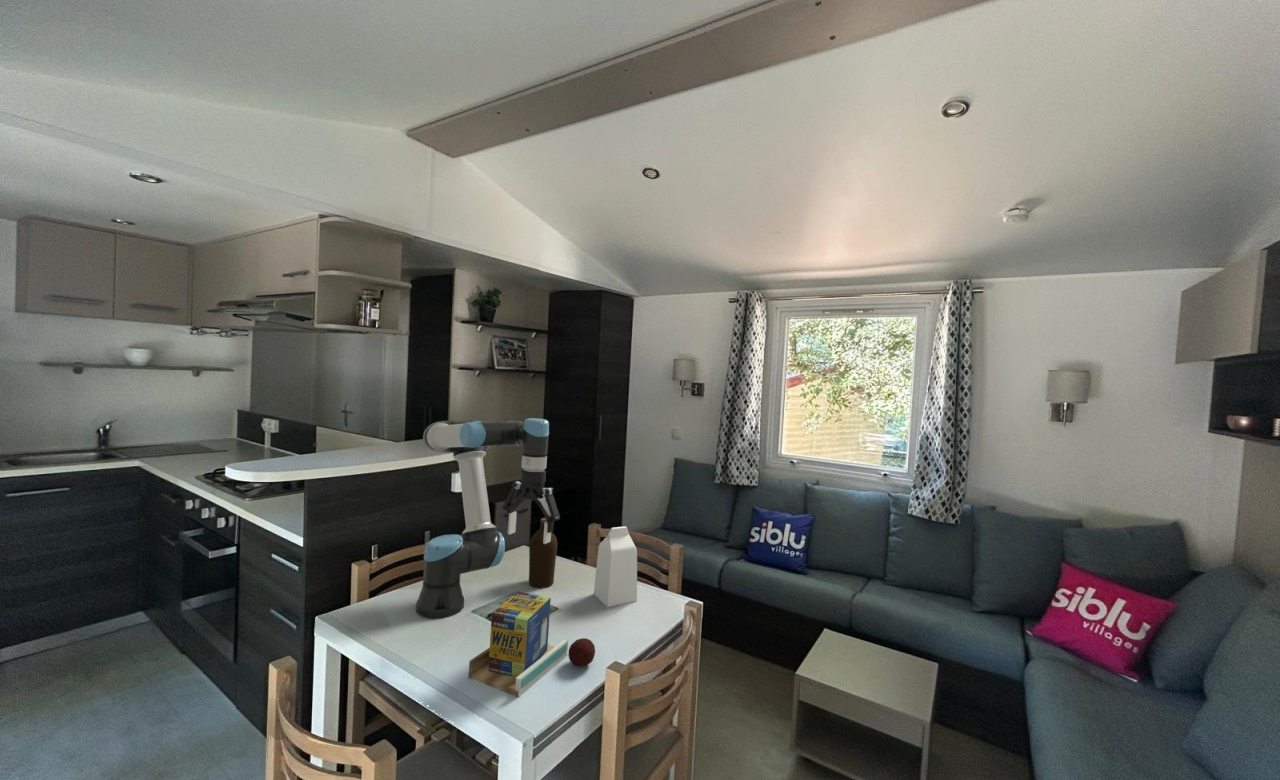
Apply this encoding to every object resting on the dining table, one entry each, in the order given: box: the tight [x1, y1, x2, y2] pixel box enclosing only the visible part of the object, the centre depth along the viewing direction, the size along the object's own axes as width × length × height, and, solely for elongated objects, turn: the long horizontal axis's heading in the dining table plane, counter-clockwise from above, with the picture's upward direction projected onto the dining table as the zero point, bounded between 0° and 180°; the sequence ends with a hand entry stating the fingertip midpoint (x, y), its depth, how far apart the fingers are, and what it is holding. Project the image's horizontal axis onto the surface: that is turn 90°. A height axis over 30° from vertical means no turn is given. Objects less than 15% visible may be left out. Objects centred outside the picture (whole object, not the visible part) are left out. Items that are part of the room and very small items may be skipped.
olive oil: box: [528, 517, 558, 589], centre depth 194 cm, size 11×11×25 cm
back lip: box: [468, 647, 490, 678], centre depth 141 cm, size 1×22×4 cm, turn 156°
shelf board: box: [467, 643, 556, 698], centre depth 138 cm, size 16×22×2 cm
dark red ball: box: [567, 637, 596, 668], centre depth 141 cm, size 7×8×7 cm
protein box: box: [488, 591, 552, 677], centre depth 138 cm, size 10×15×16 cm
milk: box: [593, 526, 638, 608], centre depth 186 cm, size 12×12×26 cm
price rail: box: [515, 638, 569, 698], centre depth 135 cm, size 1×22×4 cm, turn 155°
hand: (528, 537), depth 155 cm, fingers open, 13 cm apart
